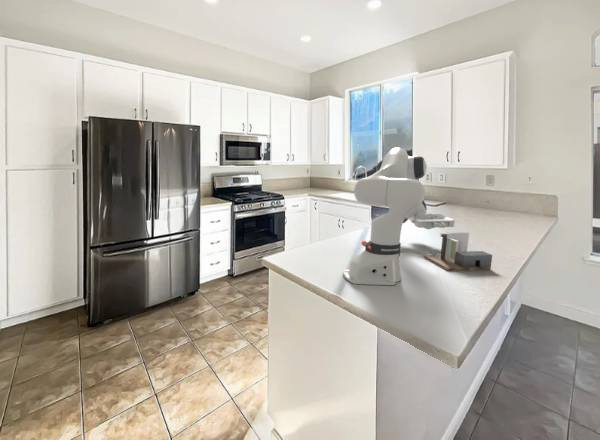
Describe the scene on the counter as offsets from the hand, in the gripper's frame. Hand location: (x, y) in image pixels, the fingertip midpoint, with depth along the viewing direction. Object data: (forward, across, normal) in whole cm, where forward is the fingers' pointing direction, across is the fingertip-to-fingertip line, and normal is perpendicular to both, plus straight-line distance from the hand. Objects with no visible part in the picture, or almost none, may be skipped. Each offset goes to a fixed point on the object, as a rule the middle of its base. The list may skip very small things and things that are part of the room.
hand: (442, 226), depth 160 cm
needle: (+15, -9, +12) cm, 21 cm away
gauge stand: (+18, -4, +13) cm, 23 cm away
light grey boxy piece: (+18, -3, +11) cm, 21 cm away
